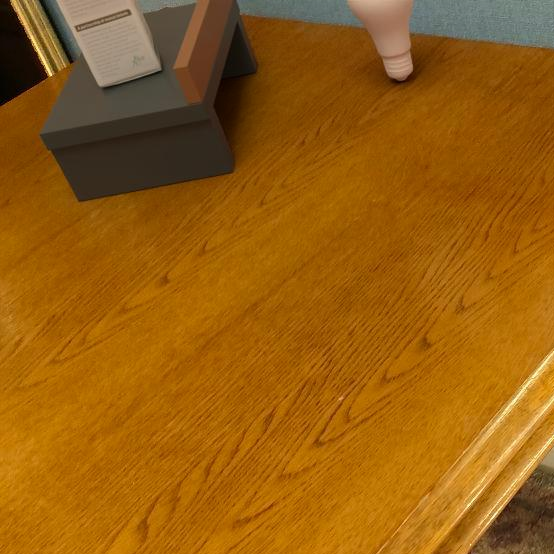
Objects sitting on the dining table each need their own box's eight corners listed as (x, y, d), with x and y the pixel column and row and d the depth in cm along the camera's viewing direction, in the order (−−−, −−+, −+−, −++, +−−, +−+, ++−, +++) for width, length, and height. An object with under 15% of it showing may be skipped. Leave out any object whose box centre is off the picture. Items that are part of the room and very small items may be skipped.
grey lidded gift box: (77, 204, 87) (18, 98, 80) (126, 87, 103) (81, -11, 96) (232, 175, 87) (187, 65, 80) (258, 62, 102) (222, -39, 95)
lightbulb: (394, 101, 91) (360, -28, 83) (358, 84, 95) (322, -41, 87) (446, 74, 93) (418, -55, 85) (409, 58, 97) (378, -67, 89)
